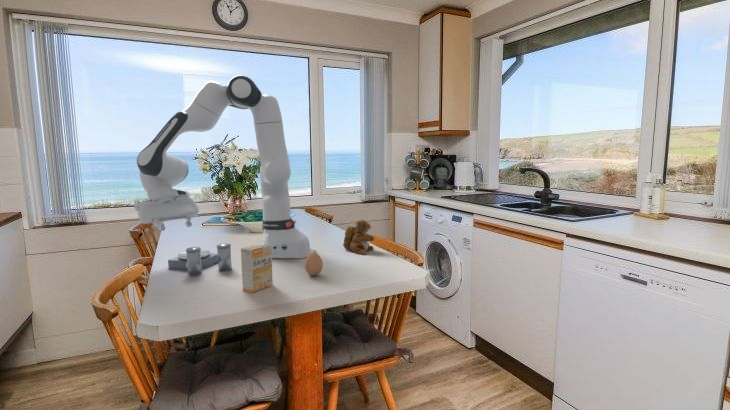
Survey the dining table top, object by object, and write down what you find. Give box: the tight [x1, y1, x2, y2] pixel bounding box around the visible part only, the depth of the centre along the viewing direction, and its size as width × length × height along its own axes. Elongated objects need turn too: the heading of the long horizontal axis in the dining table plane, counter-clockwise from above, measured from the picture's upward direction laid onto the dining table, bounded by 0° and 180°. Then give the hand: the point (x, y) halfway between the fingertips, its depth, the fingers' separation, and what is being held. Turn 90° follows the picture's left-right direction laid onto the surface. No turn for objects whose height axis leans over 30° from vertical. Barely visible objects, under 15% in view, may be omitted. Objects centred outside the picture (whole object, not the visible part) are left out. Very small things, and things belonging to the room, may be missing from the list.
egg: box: [304, 252, 324, 277], centre depth 128 cm, size 6×6×8 cm
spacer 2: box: [216, 242, 233, 272], centre depth 136 cm, size 5×5×9 cm
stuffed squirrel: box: [342, 219, 375, 255], centre depth 160 cm, size 10×14×13 cm
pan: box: [177, 249, 211, 260], centre depth 143 cm, size 11×11×1 cm
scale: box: [167, 252, 218, 271], centre depth 143 cm, size 13×13×3 cm
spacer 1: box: [185, 246, 203, 277], centre depth 131 cm, size 5×5×9 cm
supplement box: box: [240, 242, 274, 293], centre depth 116 cm, size 8×5×13 cm, turn 148°
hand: (176, 227), depth 138 cm, fingers open, 8 cm apart
